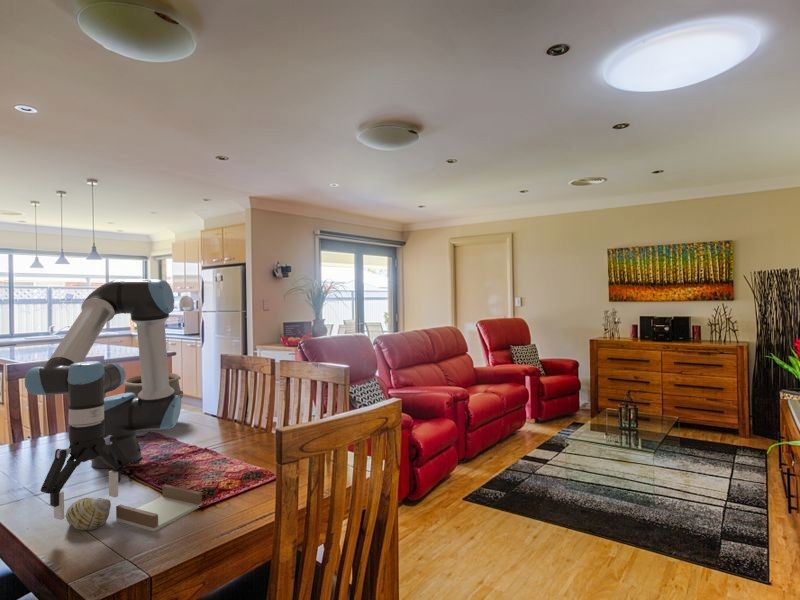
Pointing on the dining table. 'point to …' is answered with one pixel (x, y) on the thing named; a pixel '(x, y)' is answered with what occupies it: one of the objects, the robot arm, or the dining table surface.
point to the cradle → (161, 508)
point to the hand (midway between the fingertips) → (87, 506)
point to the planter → (136, 384)
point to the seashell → (88, 513)
